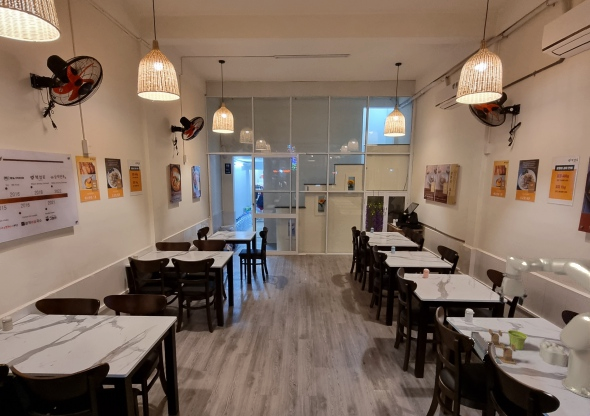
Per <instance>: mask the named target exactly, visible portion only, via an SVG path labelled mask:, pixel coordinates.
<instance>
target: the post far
mask: <svg viewBox="0 0 590 416" xmlns="http://www.w3.org/2000/svg"><path fill="white" fill-rule="evenodd" d="M488 334H490V337H491V338H490V341H489V340H487V341H486V343H487V344H488V343H490V342H493V343H494V345H495V347H494V348H496V349H497V348H498V349H502V348H501V343H500V337H503V332H502V330H500V329H498V333H494V331H493V330H492V329H491V328H488Z"/></svg>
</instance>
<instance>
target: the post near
mask: <svg viewBox="0 0 590 416" xmlns="http://www.w3.org/2000/svg"><path fill="white" fill-rule="evenodd" d="M500 345H501V348H500V349H501V350H503V351H502V355H501V356H500V355H499V356H498V359H499V360H500V362H501V363H503V364H510V365H515V366H516V365H517V362H515V360H514V358H513V352H517V349H516V347H515V346H514V345H513V344H512V345H511V346H510V347H506V345H505V343H503V342H501V343H500Z"/></svg>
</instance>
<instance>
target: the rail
mask: <svg viewBox="0 0 590 416" xmlns="http://www.w3.org/2000/svg"><path fill="white" fill-rule="evenodd" d="M470 334H471V335H470V338H473V339H474V341H475V342H476V344H477V345H478V347H479V348H480V349H481V351H482V352H483V353H484V355H485V354H486V353H487V351H488V346H489V344H488V343H487V341H486V340H485V339H484V338H483V337H482V336H481V334H480V332H479V331H473V330H472V331H471V333H470Z"/></svg>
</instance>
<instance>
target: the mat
mask: <svg viewBox="0 0 590 416" xmlns="http://www.w3.org/2000/svg"><path fill="white" fill-rule="evenodd" d="M473 348H474V350H475V352H476V353H477V354H478V356H479V358H480V359H481V360H482V361H483V359H484V353H483V352H482V351H481V349H480V348H479V347H478V345H477V344H476V342H475V346H474V347H473ZM495 359H496V362H497V363H496V364H502V361H501V360H500V358H499V357H498V356H497V355H496V357H495Z"/></svg>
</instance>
